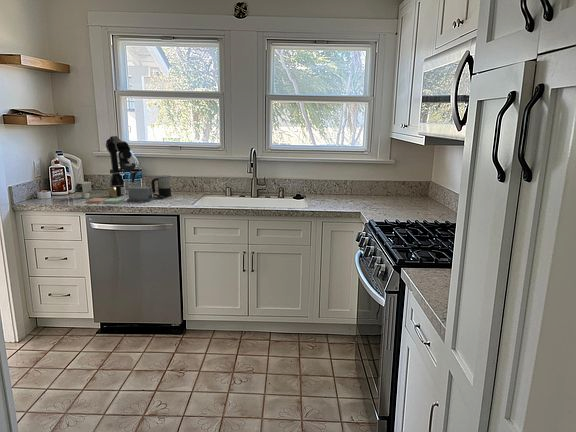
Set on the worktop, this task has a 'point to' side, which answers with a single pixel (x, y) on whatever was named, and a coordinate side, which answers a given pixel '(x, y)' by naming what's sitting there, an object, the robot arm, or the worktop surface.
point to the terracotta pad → (96, 200)
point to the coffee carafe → (162, 186)
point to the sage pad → (114, 200)
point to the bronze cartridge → (112, 192)
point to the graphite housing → (140, 194)
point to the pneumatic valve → (84, 188)
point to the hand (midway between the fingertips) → (126, 183)
